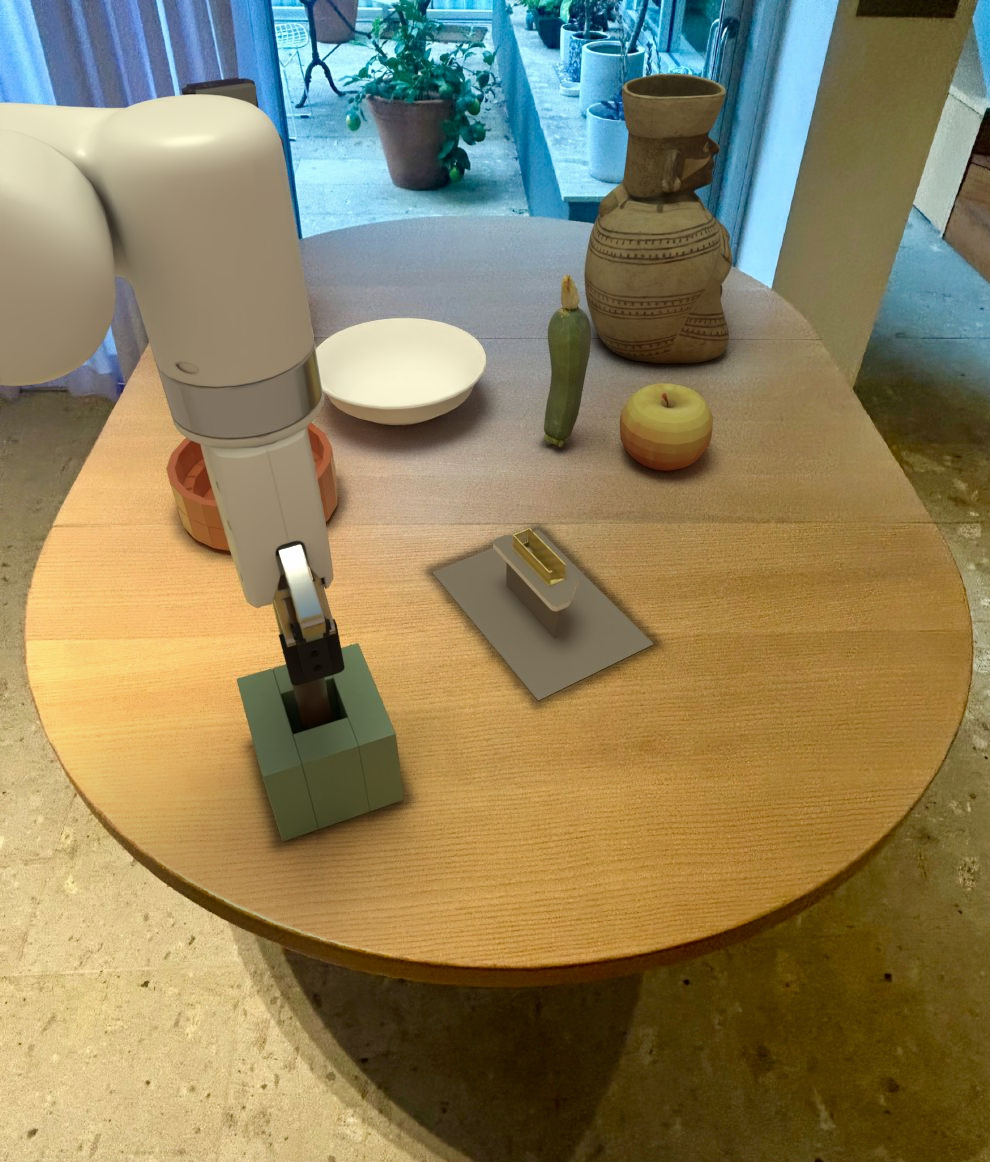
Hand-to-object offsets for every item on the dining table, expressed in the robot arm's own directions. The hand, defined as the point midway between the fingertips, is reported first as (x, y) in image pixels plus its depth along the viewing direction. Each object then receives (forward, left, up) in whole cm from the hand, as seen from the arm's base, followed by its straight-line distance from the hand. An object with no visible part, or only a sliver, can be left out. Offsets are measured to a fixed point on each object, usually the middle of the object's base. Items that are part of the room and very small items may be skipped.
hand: (298, 621), depth 56 cm
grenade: (+10, +68, -17) cm, 71 cm away
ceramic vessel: (+56, +49, -17) cm, 76 cm away
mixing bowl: (+2, +34, -16) cm, 38 cm away
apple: (+44, +26, -17) cm, 54 cm away
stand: (0, 0, -16) cm, 16 cm away
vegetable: (+35, +32, -17) cm, 50 cm away
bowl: (+21, +46, -17) cm, 53 cm away
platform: (+22, +10, -17) cm, 29 cm away
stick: (0, 0, -16) cm, 16 cm away
